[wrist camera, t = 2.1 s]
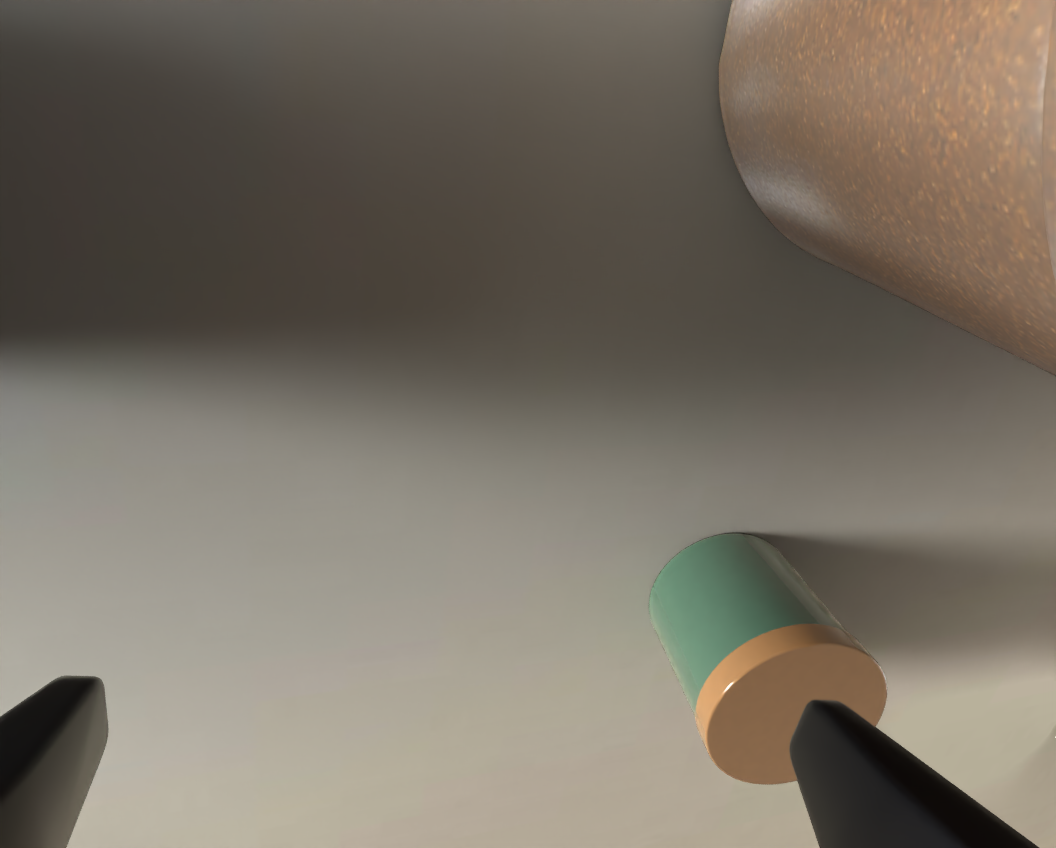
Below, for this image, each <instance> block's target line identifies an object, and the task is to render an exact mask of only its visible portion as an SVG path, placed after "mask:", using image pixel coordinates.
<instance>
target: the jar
mask: <svg viewBox="0 0 1056 848" xmlns="http://www.w3.org/2000/svg"><path fill="white" fill-rule="evenodd" d="M649 614H650V619H651V622H652V625H653V627H654V629H655V631H656V633H657V636H658V638H659V640H660V642H661V644H662V647H663V649H664V651H665V653H666V655H667V657H668V660H669V662H670V664H671V666H672V668H673V670H674V673H675V675H676V677H677V679H678V681H679V683H680V686H681V688H682V690H683V692H684V694H685V696H686V699H687V701H688V703H689V705H690V707H691V709H692V712H693V714H694V716H695V719H696V725H697V729H698V732H699V734H700V736H701V739H702V741H703V743H704V745H705V747H706V750H707V752H708V754H709V756H710V758H711V759H712V761H713V762H714V763H715V765H716V766H717V767H718V768H719V769H720V770H722V771H723V772H724V773H726V774H727V775H729V776H731V777H733V778H735V779H738V780H740V781H743V782H748V783H753V784H781V783H788V782H792V781H797V778H796V775H795V772H794V769H793V766H792V763H791V759H790V753H789V745H790V740H791V737H792V735H793V733H794V731H795V728H796V726H797V724H798V722H799V720H800V717H801V715H802V713H803V711H804V708H805V706H806V705H807V704H808V703H809V702H810V701H811V700H836V701H839V702H842V703H843V704H845V705H846V706H848V707H849V708H850V709H852V710H853V711H854V712H856V713H857V714H859V715H860V716H861V717H863V718H864V719H865V720H867V721H868V722H869V723H871V724H872V725H873V726H876V725H877V723H878V722H879V720H880V718H881V716H882V713H883V710H884V708H885V704H886V699H887V684H886V678H885V676H884V673H883V670H882V669H881V667H880V665H879V664H878V662H877V661H876V660H875V659H874V658H873V657H872V655H871V654H870V653H869V652H868V651H867V650H866V648H865V647H864V646H863V645H862V644H861V643H860V642H859V641H858V640H857V639H856V638H855V637H854V636H852V635H851V634H849V633H848V632H847V631H846V630H845V629H844V627H843V626H842V625H841V624H840V623H839V622H838V620H837V619H836V618H835V617H834V616H833V614H832V613H831V612H830V611H829V610H828V609H827V607H826V606H825V605H824V604H823V603H822V601H821V600H820V599H819V598H818V597H817V596H816V594H815V593H814V592H813V591H812V590H811V588H810V587H809V586H808V585H807V584H806V583H805V581H804V580H803V579H802V578H801V577H800V575H799V574H798V573H797V572H796V571H795V570H794V568H793V567H792V566H791V565H790V564H789V562H788V561H787V560H786V559H785V558H784V557H783V555H782V554H781V553H780V552H779V551H778V550H777V549H776V548H775V547H774V546H773V545H772V544H770V543H769V542H767V541H765V540H763V539H761V538H758V537H755V536H752V535H747V534H739V533H730V534H721V535H715V536H712V537H708V538H705V539H703V540H700V541H698V542H696V543H694V544H692V545H690V546H688V547H687V548H685V549H684V550H682V551H681V552H679V553H678V554H677V555H676V556H674V557H673V558H672V559H671V560H670V561H669V562H668V563H667V564H666V565H665V567H664V568H663V569H662V571H661V572H660V573H659V575H658V577H657V578H656V580H655V582H654V585H653V587H652V590H651V594H650V599H649Z"/></svg>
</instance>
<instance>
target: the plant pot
mask: <svg viewBox="0 0 1056 848" xmlns="http://www.w3.org/2000/svg"><path fill="white" fill-rule="evenodd" d="M719 98H720V105H721V113H722V119H723V124H724V128H725V132H726V136H727V140H728V144H729V148H730V151H731V153H732V156H733V159H734V162H735V165H736V167H737V169H738V171H739V174H740V176H741V178H742V180H743V182H744V184H745V185H746V187H747V189H748V191H749V193H750V194H751V196H752V198H753V199H754V201H755V202H756V204H757V205H758V207H759V208H760V210H761V211H762V212H763V213H764V215H765V216H766V217H767V218H768V220H769V221H770V222H771V223H772V224H773V225H774V226H775V227H776V228H777V230H778V231H780V232H781V233H782V234H783V235H784V236H785V237H786V238H788V239H789V240H790V241H792V242H793V243H794V244H795V245H797V246H798V247H799V248H801V249H802V250H804V251H806V252H807V253H809V254H811V255H812V256H814V257H816V258H818V259H820V260H823V261H825V262H827V263H830V264H832V265H834V266H837V267H839V268H841V269H843V270H845V271H847V272H849V273H851V274H853V275H856V276H858V277H860V278H862V279H864V280H866V281H868V282H870V283H872V284H874V285H876V286H878V287H880V288H882V289H884V290H886V291H888V292H890V293H892V294H894V295H896V296H898V297H900V298H902V299H904V300H906V301H908V302H910V303H912V304H914V305H916V306H918V307H920V308H922V309H924V310H926V311H928V312H930V313H932V314H934V315H936V316H938V317H940V318H942V319H944V320H946V321H948V322H950V323H952V324H954V325H956V326H958V327H960V328H962V329H964V330H966V331H968V332H970V333H972V334H974V335H976V336H978V337H980V338H982V339H984V340H986V341H988V342H989V343H991V344H993V345H995V346H997V347H999V348H1001V349H1003V350H1005V351H1007V352H1009V353H1011V354H1013V355H1015V356H1017V357H1019V358H1021V359H1023V360H1025V361H1027V362H1029V363H1031V364H1033V365H1035V366H1037V367H1039V368H1041V369H1043V370H1045V371H1047V372H1049V373H1051V374H1053V375H1055V376H1056V0H732V3H731V8H730V12H729V17H728V22H727V27H726V33H725V38H724V44H723V48H722V52H721V57H720V61H719Z"/></svg>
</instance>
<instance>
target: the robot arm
mask: <svg viewBox="0 0 1056 848" xmlns="http://www.w3.org/2000/svg"><path fill="white" fill-rule="evenodd" d="M107 738H108V719H107V709H106V699H105V689H104V684H103V682H102V680H101V679H100V678H98V677H95V676H62V677H59V678H57V679H55V680H53V681H51V682H50V683H49V684H47V685H46V686H44V687H43V688H41V689H40V690H38V691H37V692H35V693H34V694H33V695H31V696H30V697H28V698H27V699H25V700H24V701H22V702H21V703H19V704H18V705H17V706H15V707H14V708H12V709H11V710H9V711H8V712H6V713H5V714H3V715H2V716H1V717H0V848H66V847H67V844H68V842H69V839H70V837H71V834H72V832H73V829H74V826H75V824H76V821H77V819H78V816H79V814H80V811H81V809H82V806H83V803H84V801H85V798H86V796H87V793H88V791H89V788H90V786H91V783H92V780H93V778H94V775H95V773H96V770H97V768H98V765H99V763H100V760H101V758H102V755H103V752H104V749H105V746H106V743H107ZM789 753H790V759H791V763H792V766H793V769H794V772H795V775H796V778H797V781H798V784H799V787H800V790H801V793H802V796H803V799H804V802H805V805H806V808H807V811H808V814H809V817H810V820H811V823H812V826H813V829H814V832H815V835H816V838H817V841H818V844H819V847H820V848H1039V847H1038V846H1036V845H1035V844H1034V843H1032V842H1031V841H1029V840H1028V839H1027V838H1025V837H1024V836H1023V835H1021V834H1020V833H1019V832H1017V831H1016V830H1015V829H1013V828H1012V827H1010V826H1009V825H1008V824H1006V823H1005V822H1004V821H1002V820H1001V819H1000V818H998V817H997V816H996V815H994V814H993V813H991V812H990V811H989V810H987V809H986V808H985V807H983V806H982V805H981V804H979V803H978V802H977V801H975V800H974V799H973V798H971V797H970V796H968V795H967V794H966V793H964V792H963V791H962V790H960V789H959V788H958V787H956V786H955V785H954V784H952V783H951V782H949V781H948V780H947V779H945V778H944V777H943V776H941V775H940V774H939V773H937V772H936V771H935V770H933V769H932V768H930V767H929V766H928V765H926V764H925V763H924V762H922V761H921V760H920V759H918V758H917V757H916V756H914V755H913V754H911V753H910V752H909V751H907V750H906V749H905V748H903V747H902V746H901V745H899V744H898V743H897V742H895V741H894V740H892V739H891V738H890V737H888V736H887V735H886V734H884V733H883V732H882V731H880V730H879V729H878V728H876V727H875V726H873V725H872V724H871V723H869V722H868V721H867V720H865V719H864V718H863V717H861V716H860V715H859V714H857V713H856V712H854V711H853V710H852V709H850V708H849V707H848V706H846V705H845V704H843V703H842V702H839V701H836V700H811V701H810V702H809V703H808V704H807V705H806V706H805V708H804V711H803V713H802V715H801V717H800V720H799V722H798V724H797V726H796V728H795V731H794V733H793V735H792V737H791V740H790V745H789Z"/></svg>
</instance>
